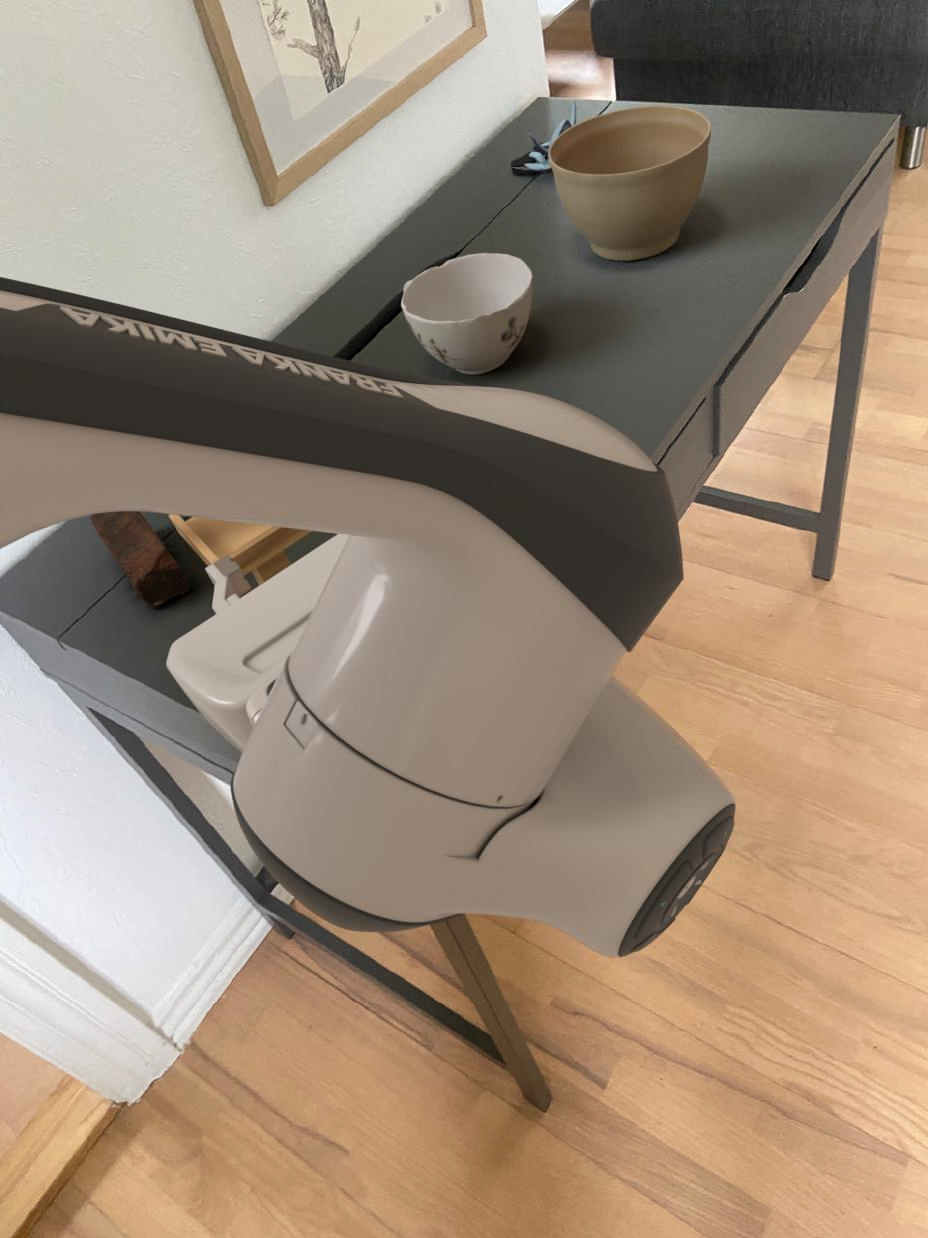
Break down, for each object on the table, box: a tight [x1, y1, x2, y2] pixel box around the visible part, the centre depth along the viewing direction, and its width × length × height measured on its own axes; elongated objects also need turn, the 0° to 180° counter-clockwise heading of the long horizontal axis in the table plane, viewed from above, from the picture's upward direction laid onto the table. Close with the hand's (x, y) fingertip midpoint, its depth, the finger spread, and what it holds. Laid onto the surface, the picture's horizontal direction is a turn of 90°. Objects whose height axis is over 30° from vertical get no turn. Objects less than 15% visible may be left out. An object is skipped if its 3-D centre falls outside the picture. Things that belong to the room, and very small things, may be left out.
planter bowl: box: [548, 104, 712, 262], centre depth 96 cm, size 16×16×11 cm
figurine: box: [510, 99, 577, 176], centre depth 114 cm, size 10×12×8 cm
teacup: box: [400, 252, 533, 375], centre depth 89 cm, size 15×12×8 cm
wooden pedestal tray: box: [168, 514, 313, 586], centre depth 68 cm, size 8×8×12 cm
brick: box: [90, 511, 191, 610], centre depth 78 cm, size 11×4×5 cm, turn 35°
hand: (291, 523), depth 51 cm, fingers open, 8 cm apart
